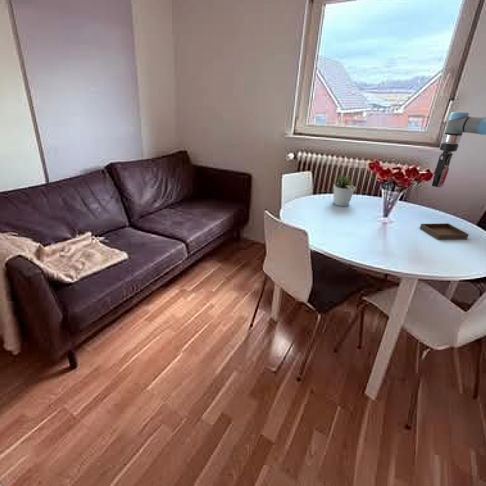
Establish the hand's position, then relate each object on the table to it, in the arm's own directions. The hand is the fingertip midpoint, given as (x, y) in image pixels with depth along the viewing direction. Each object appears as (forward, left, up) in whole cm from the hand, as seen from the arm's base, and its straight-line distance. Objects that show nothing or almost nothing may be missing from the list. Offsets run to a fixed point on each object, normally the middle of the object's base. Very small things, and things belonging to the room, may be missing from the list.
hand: (436, 185), depth 173 cm
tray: (-24, +9, -18) cm, 31 cm away
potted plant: (+20, +43, -18) cm, 51 cm away
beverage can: (0, 0, -1) cm, 1 cm away
